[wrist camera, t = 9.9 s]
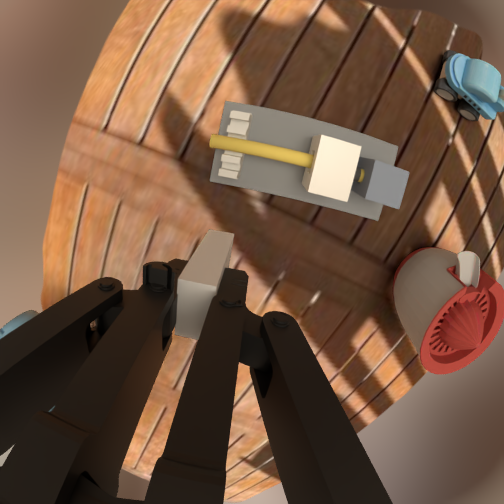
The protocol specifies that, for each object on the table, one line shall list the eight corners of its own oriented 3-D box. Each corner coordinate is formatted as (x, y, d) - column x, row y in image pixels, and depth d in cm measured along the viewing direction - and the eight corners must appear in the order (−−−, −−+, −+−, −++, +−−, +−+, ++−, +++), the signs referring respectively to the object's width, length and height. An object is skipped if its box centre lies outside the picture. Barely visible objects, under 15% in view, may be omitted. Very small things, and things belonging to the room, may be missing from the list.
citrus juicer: (460, 224, 40) (534, 272, 21) (444, 308, 46) (493, 374, 28) (387, 226, 41) (453, 285, 23) (376, 318, 48) (414, 399, 29)
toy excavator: (489, 143, 34) (556, 155, 18) (425, 87, 32) (493, 71, 16) (499, 107, 31) (563, 109, 15) (437, 50, 29) (499, 25, 13)
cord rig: (210, 180, 41) (196, 189, 33) (226, 101, 36) (215, 91, 29) (377, 220, 41) (397, 236, 34) (396, 146, 37) (421, 149, 29)
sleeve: (301, 183, 39) (307, 191, 32) (312, 136, 36) (321, 134, 30) (334, 192, 39) (347, 202, 33) (346, 145, 36) (361, 146, 30)
